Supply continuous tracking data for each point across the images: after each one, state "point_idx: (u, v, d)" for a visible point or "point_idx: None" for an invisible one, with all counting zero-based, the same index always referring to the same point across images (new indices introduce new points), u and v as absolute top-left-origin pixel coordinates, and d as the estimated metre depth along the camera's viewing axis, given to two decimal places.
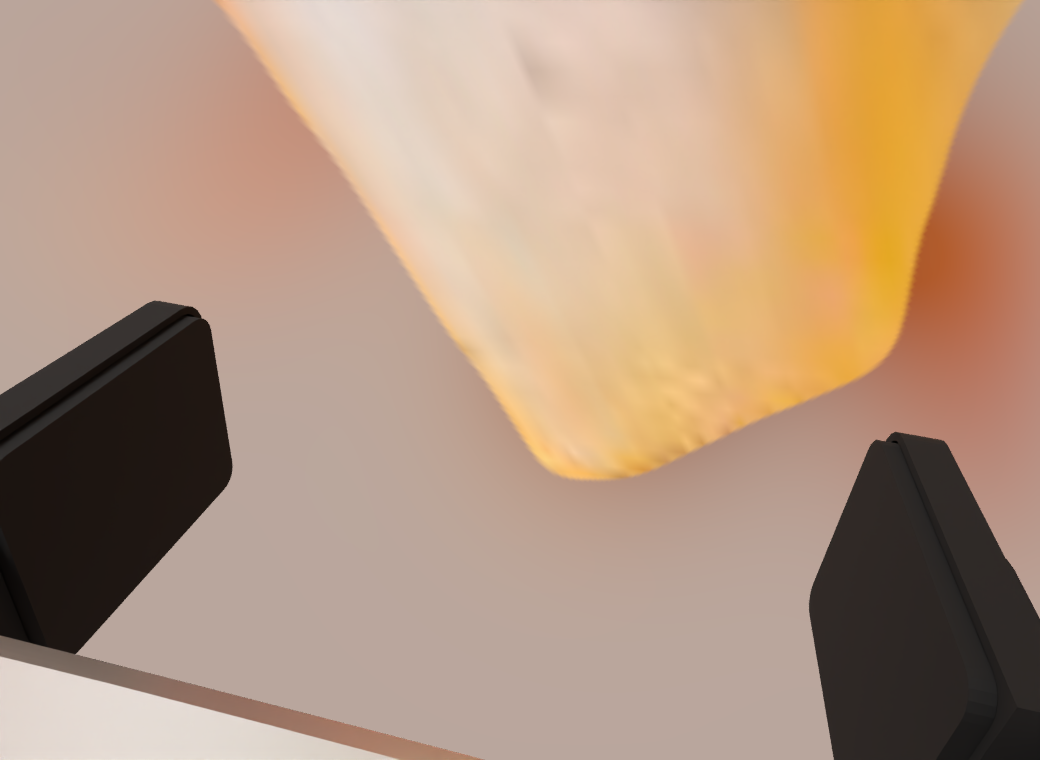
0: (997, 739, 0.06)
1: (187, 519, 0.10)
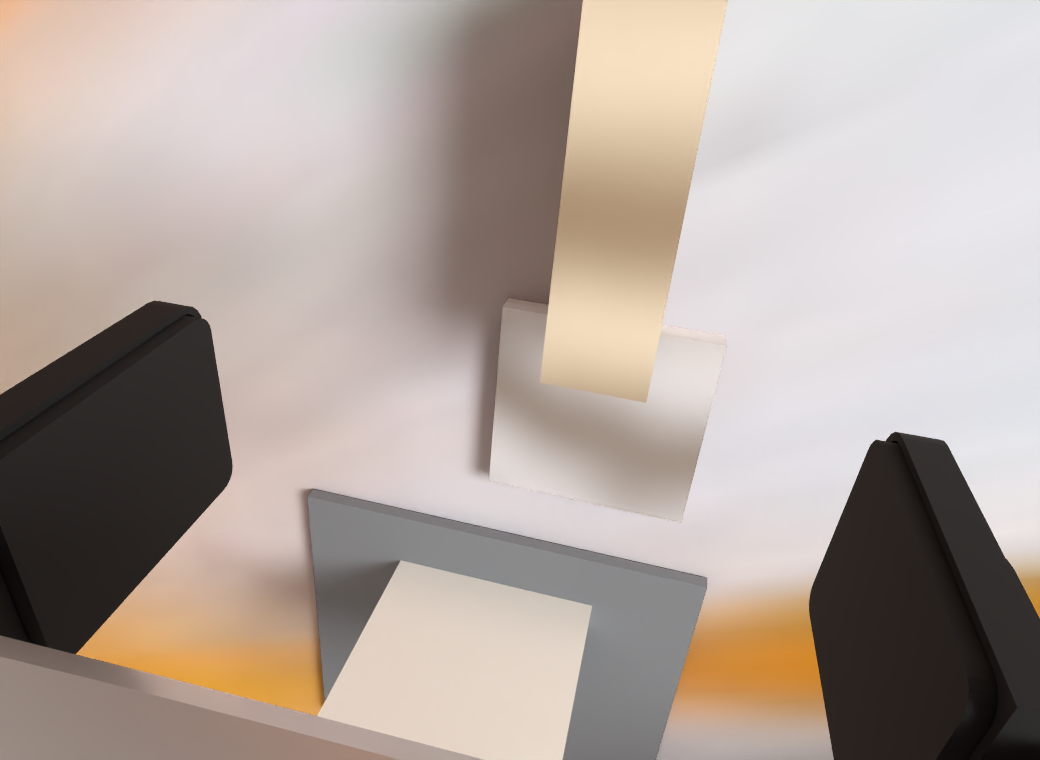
0: (997, 739, 0.06)
1: (187, 519, 0.10)
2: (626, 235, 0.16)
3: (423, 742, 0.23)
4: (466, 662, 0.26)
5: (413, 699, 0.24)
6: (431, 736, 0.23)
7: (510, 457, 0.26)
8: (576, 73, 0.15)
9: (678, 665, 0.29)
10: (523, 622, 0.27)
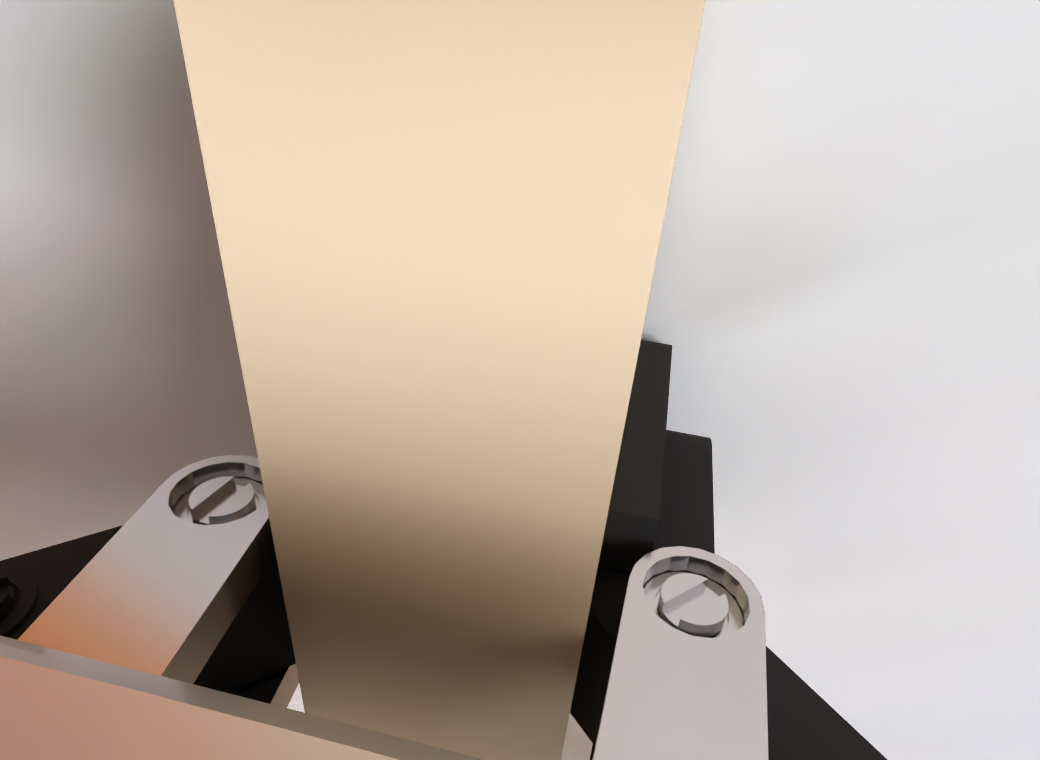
0: (605, 541, 0.07)
1: None
2: (447, 618, 0.06)
3: None
4: None
5: None
6: None
7: None
8: (224, 245, 0.05)
9: None
10: None
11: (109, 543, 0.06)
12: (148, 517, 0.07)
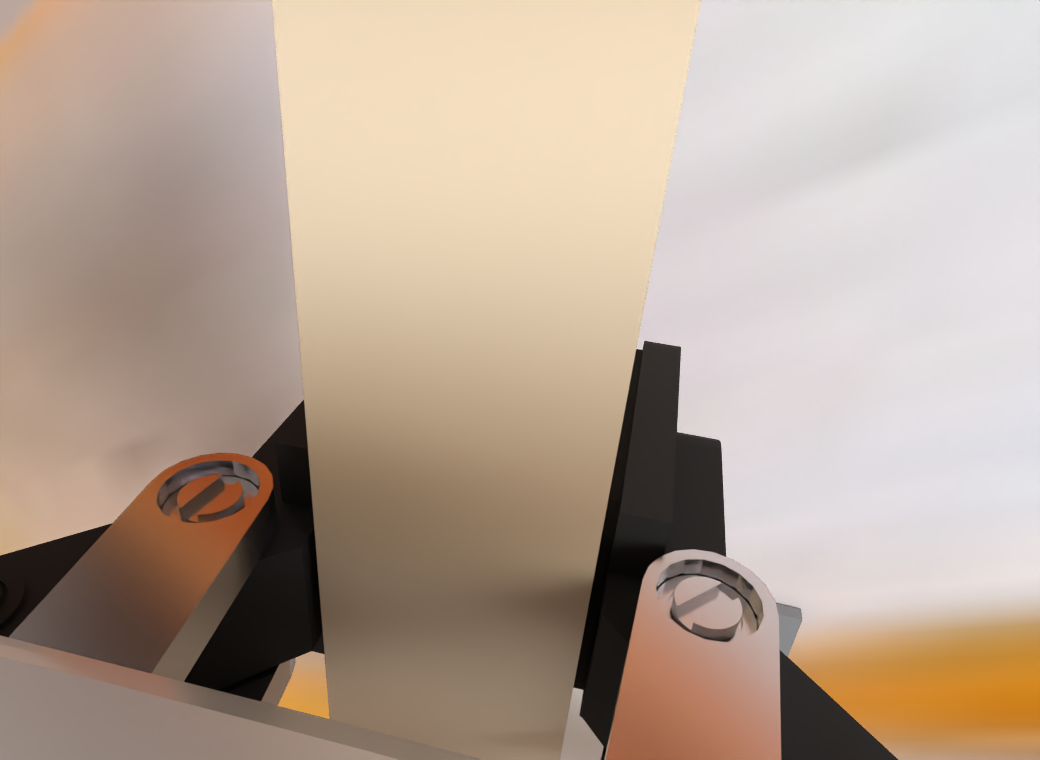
0: (617, 544, 0.07)
1: None
2: (471, 532, 0.07)
3: None
4: None
5: None
6: None
7: None
8: (289, 154, 0.05)
9: None
10: None
11: (98, 541, 0.06)
12: (136, 515, 0.07)
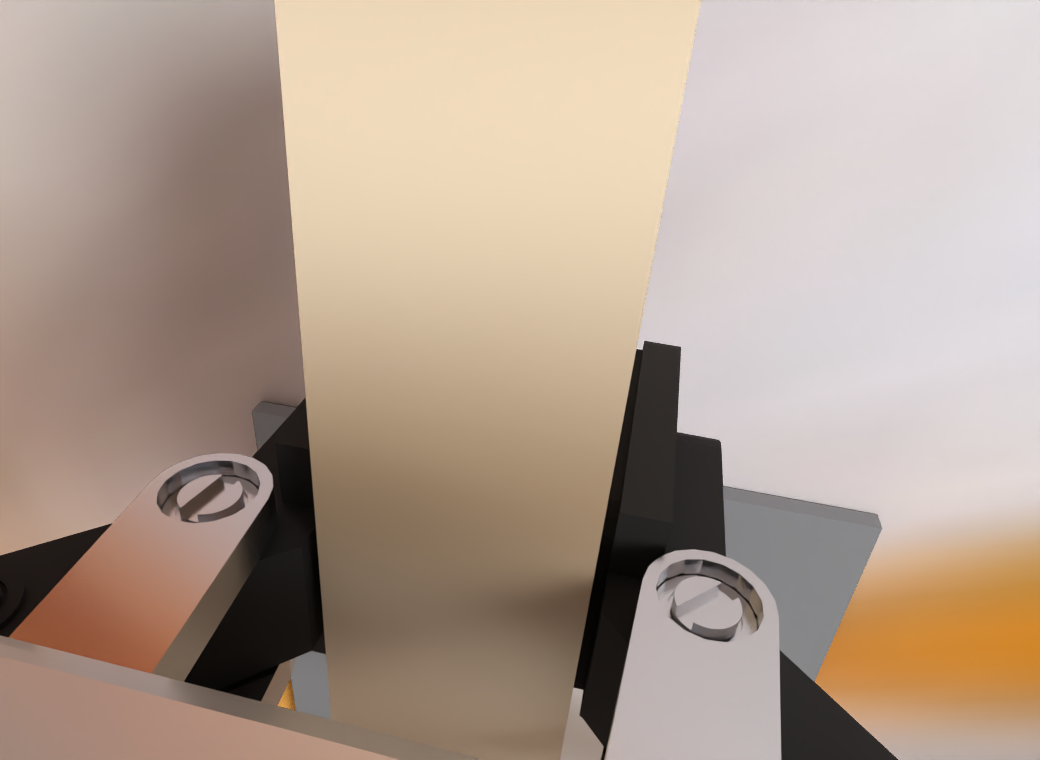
0: (617, 544, 0.07)
1: None
2: (472, 528, 0.07)
3: None
4: None
5: None
6: None
7: None
8: (291, 151, 0.05)
9: (819, 651, 0.19)
10: None
11: (98, 542, 0.06)
12: (136, 516, 0.07)
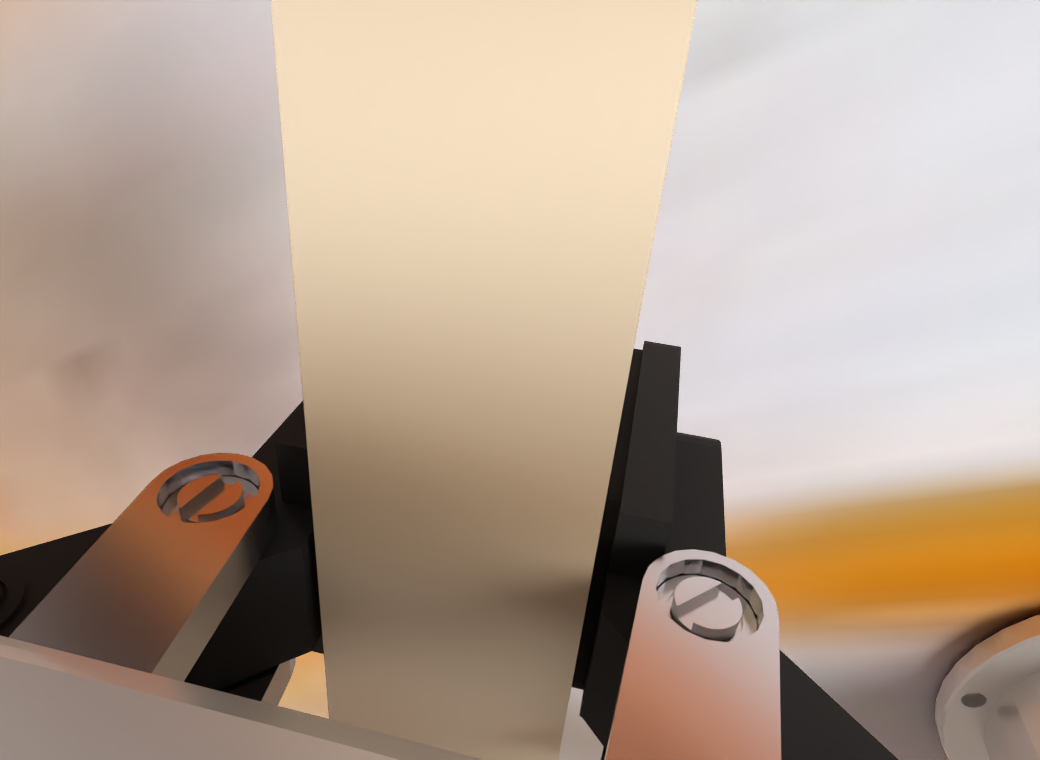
0: (617, 544, 0.07)
1: None
2: (470, 528, 0.07)
3: None
4: None
5: None
6: None
7: None
8: (288, 151, 0.05)
9: None
10: None
11: (98, 541, 0.06)
12: (137, 516, 0.07)
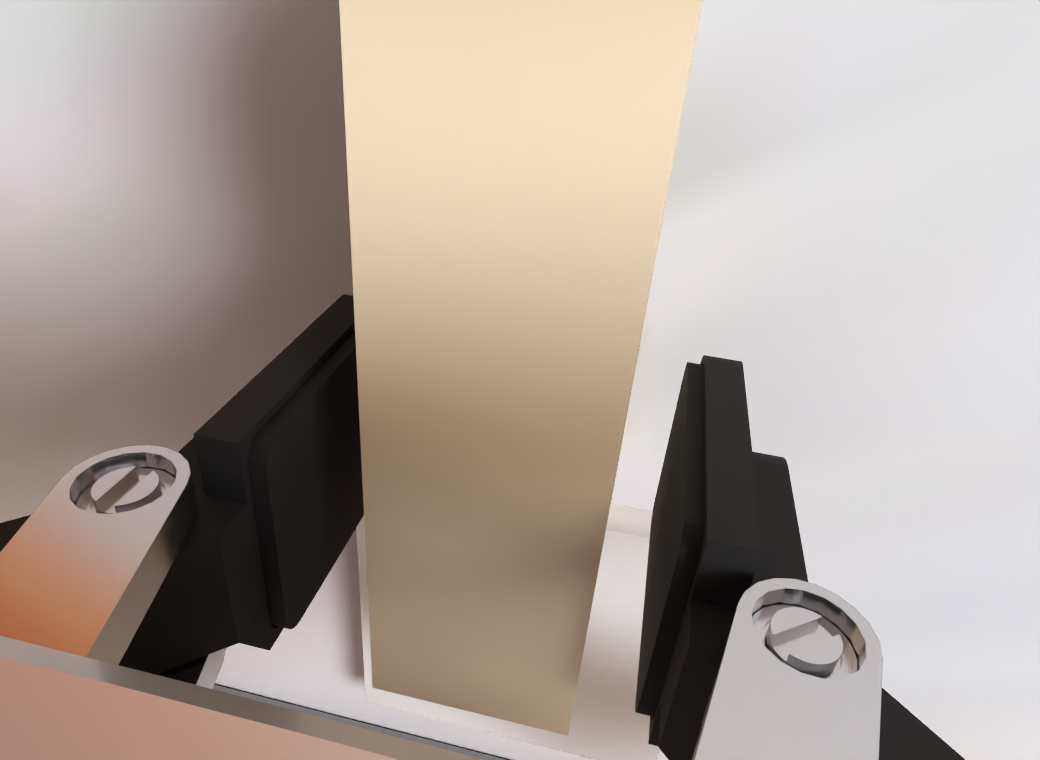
0: (702, 571, 0.07)
1: None
2: (501, 469, 0.08)
3: None
4: None
5: None
6: None
7: None
8: (350, 136, 0.06)
9: None
10: None
11: (11, 541, 0.06)
12: (50, 513, 0.07)
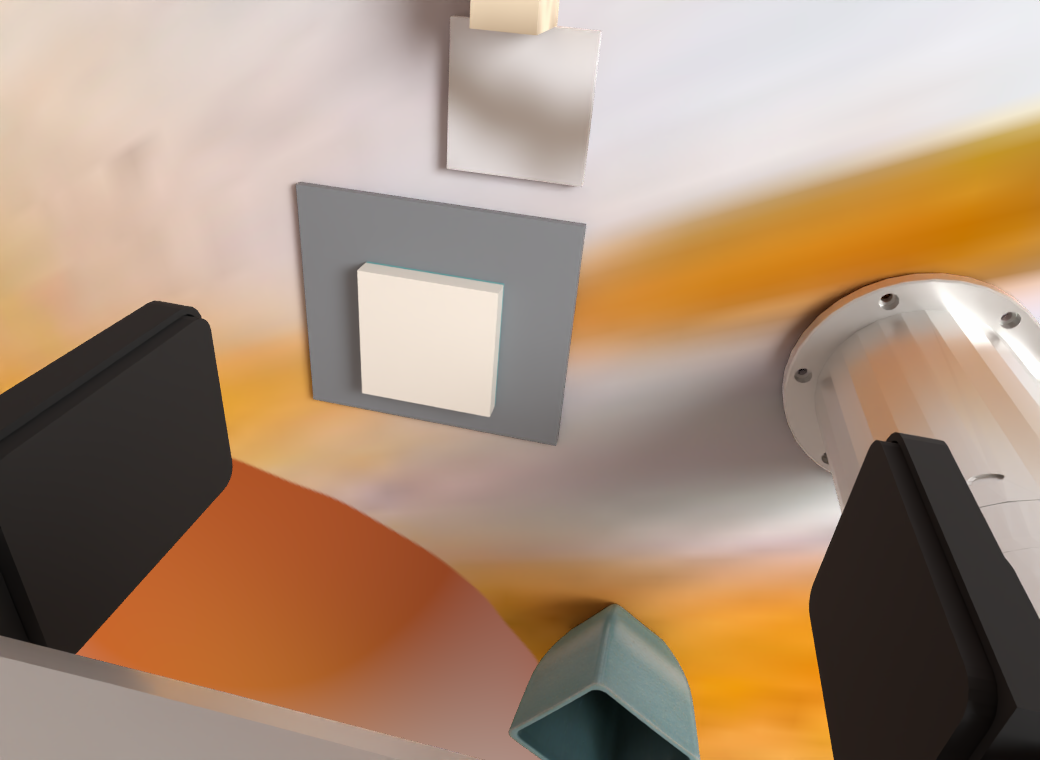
0: (997, 739, 0.06)
1: (187, 519, 0.10)
2: None
3: (418, 393, 0.43)
4: (426, 346, 0.41)
5: (405, 371, 0.42)
6: (421, 389, 0.43)
7: (461, 145, 0.36)
8: None
9: (570, 304, 0.39)
10: (453, 313, 0.40)
11: None
12: None
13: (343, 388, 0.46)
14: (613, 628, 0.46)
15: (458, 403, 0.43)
